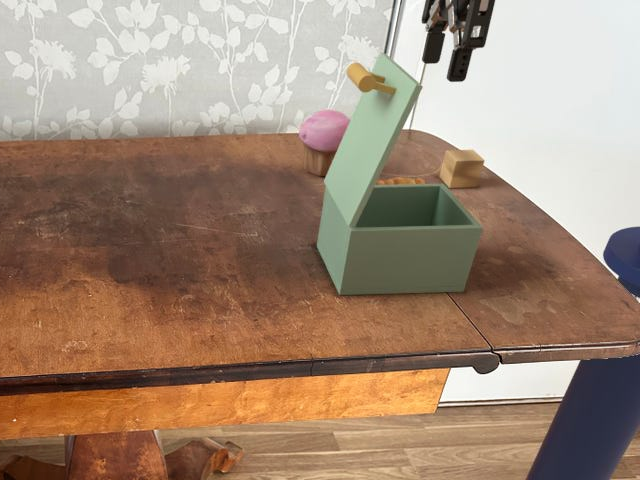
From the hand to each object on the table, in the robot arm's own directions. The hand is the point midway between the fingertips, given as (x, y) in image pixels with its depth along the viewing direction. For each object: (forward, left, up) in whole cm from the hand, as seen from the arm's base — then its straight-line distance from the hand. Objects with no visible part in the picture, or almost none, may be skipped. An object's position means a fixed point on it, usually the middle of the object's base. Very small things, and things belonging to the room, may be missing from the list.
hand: (442, 71), depth 92 cm
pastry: (+3, -3, -21) cm, 21 cm away
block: (-3, -16, -20) cm, 26 cm away
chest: (-2, +17, -20) cm, 27 cm away
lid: (+2, +20, -3) cm, 20 cm away
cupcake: (+17, -8, -21) cm, 28 cm away
